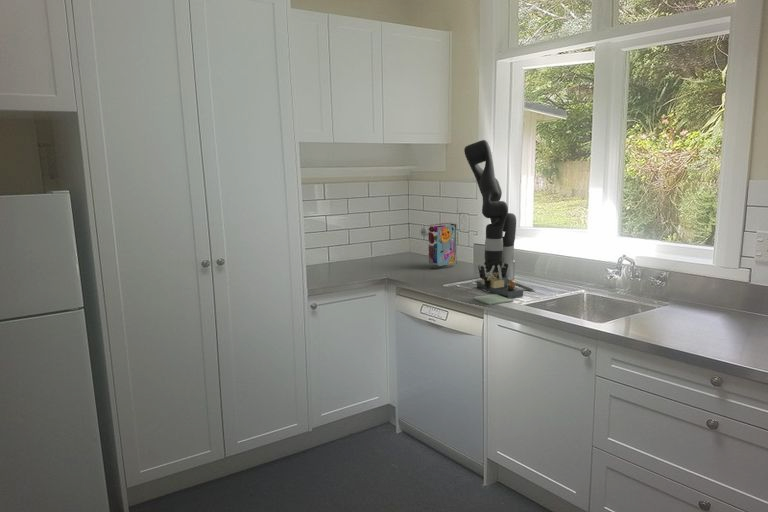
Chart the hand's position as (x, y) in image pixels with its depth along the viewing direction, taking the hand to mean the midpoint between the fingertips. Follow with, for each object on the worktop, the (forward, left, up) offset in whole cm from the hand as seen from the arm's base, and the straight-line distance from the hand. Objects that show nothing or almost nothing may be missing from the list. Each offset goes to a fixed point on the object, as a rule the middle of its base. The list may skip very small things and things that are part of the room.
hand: (492, 288), depth 236 cm
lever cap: (0, 0, +1) cm, 1 cm away
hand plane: (-11, -11, -5) cm, 16 cm away
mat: (0, 0, -5) cm, 5 cm away
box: (-13, -71, -5) cm, 72 cm away
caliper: (-22, -14, -6) cm, 27 cm away
